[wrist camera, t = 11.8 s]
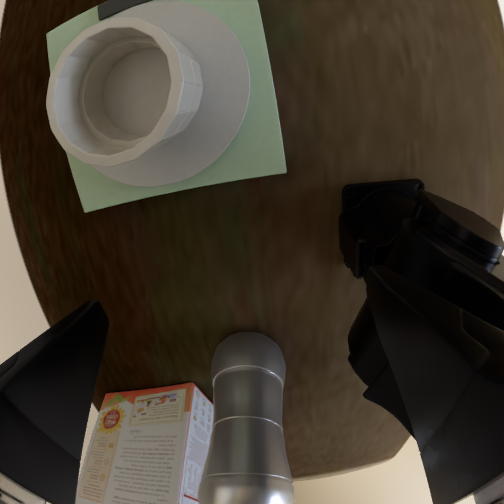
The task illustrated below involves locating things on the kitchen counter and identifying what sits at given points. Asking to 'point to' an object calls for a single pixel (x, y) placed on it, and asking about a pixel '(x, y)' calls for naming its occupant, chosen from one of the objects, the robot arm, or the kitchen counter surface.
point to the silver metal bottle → (247, 425)
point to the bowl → (122, 91)
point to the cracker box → (148, 447)
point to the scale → (210, 108)
